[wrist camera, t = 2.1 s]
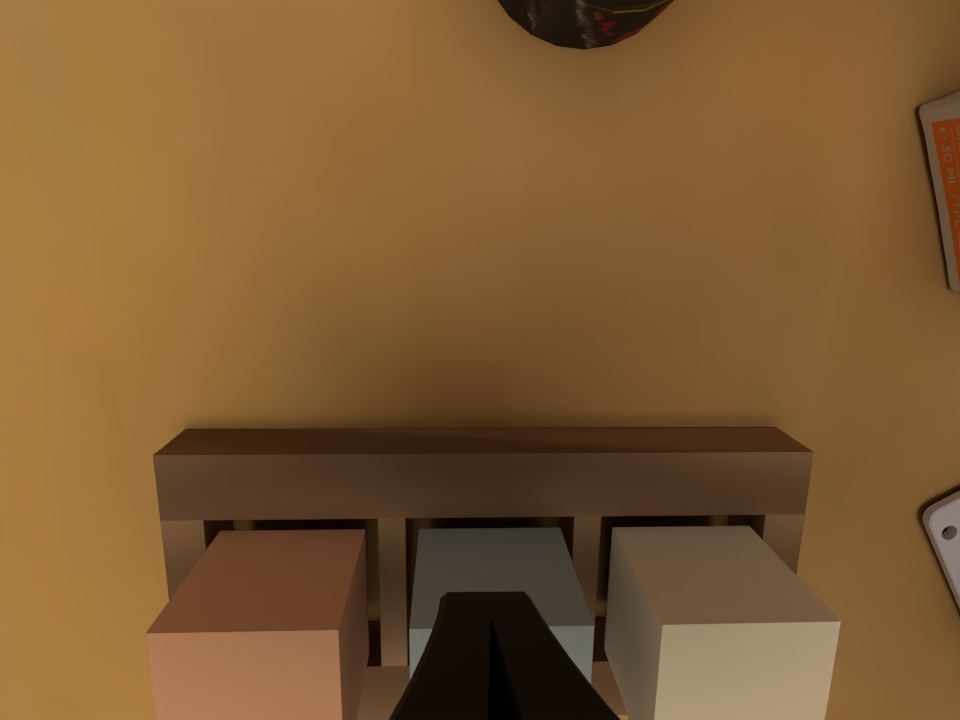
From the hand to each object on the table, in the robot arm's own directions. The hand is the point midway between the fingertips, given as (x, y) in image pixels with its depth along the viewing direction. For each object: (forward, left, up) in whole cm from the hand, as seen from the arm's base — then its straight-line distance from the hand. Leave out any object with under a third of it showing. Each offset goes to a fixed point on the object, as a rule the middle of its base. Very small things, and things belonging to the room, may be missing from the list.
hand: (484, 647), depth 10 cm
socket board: (-4, +2, -11) cm, 11 cm away
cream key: (-7, -3, -8) cm, 12 cm away
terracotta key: (-1, +7, -8) cm, 11 cm away
